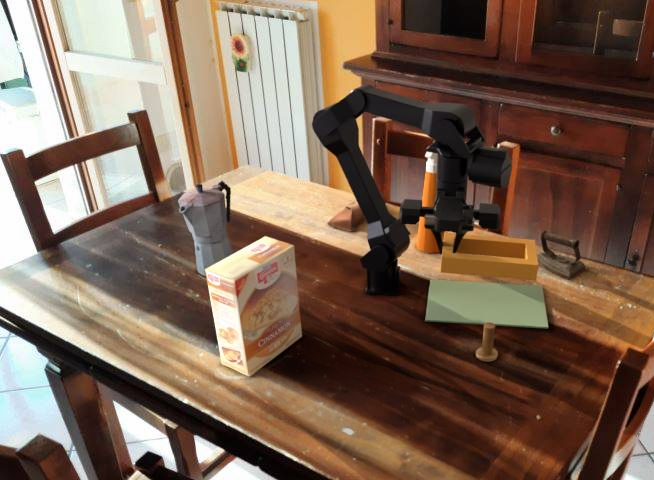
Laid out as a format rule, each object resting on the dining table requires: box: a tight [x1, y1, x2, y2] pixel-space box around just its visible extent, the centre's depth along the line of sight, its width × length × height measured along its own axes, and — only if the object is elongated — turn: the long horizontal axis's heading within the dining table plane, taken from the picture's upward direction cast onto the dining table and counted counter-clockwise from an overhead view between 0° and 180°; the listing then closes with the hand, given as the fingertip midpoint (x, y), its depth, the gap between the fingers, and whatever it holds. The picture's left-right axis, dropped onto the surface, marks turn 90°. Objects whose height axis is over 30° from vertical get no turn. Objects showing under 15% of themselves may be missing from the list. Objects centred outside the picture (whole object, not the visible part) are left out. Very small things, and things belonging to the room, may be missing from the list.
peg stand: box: [475, 322, 499, 363], centre depth 118 cm, size 4×4×7 cm
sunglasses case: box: [326, 192, 387, 233], centre depth 169 cm, size 18×7×7 cm
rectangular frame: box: [439, 232, 540, 282], centre depth 127 cm, size 18×10×3 cm, turn 84°
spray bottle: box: [416, 151, 446, 254], centre depth 150 cm, size 7×11×26 cm, turn 148°
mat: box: [424, 279, 549, 330], centre depth 134 cm, size 24×16×1 cm, turn 84°
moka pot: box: [177, 180, 235, 277], centre depth 141 cm, size 10×15×20 cm, turn 158°
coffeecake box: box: [205, 235, 303, 377], centre depth 115 cm, size 15×7×20 cm, turn 148°
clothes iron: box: [537, 230, 587, 280], centre depth 146 cm, size 7×11×10 cm, turn 47°
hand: (447, 254), depth 128 cm, fingers closed on rectangular frame, 2 cm apart
